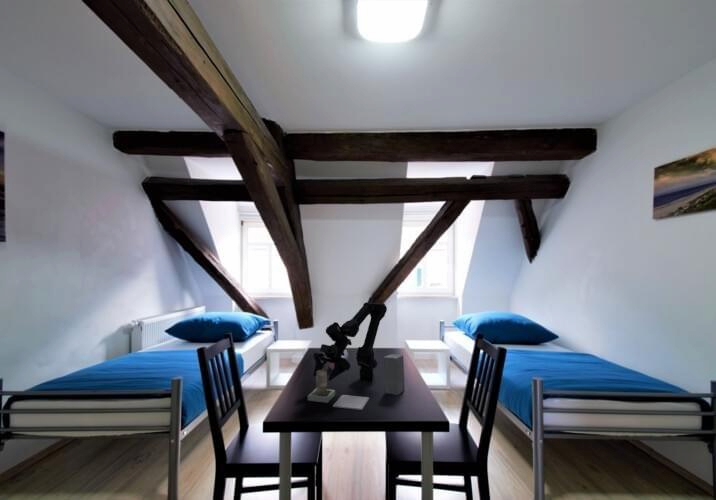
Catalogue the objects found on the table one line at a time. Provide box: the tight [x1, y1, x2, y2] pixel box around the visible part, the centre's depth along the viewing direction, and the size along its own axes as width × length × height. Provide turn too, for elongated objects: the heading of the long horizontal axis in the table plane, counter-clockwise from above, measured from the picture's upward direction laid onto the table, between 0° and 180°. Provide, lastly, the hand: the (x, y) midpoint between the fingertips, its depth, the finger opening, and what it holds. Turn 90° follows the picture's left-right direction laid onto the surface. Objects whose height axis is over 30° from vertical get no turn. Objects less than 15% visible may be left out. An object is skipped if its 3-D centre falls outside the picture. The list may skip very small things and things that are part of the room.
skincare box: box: [383, 353, 406, 396], centre depth 151 cm, size 8×7×16 cm
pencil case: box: [328, 349, 349, 370], centre depth 191 cm, size 21×9×10 cm, turn 175°
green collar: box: [307, 388, 336, 404], centre depth 144 cm, size 9×9×2 cm
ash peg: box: [315, 369, 328, 396], centre depth 144 cm, size 4×4×11 cm
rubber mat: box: [332, 394, 370, 411], centre depth 138 cm, size 12×12×1 cm
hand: (321, 378), depth 144 cm, fingers open, 9 cm apart
